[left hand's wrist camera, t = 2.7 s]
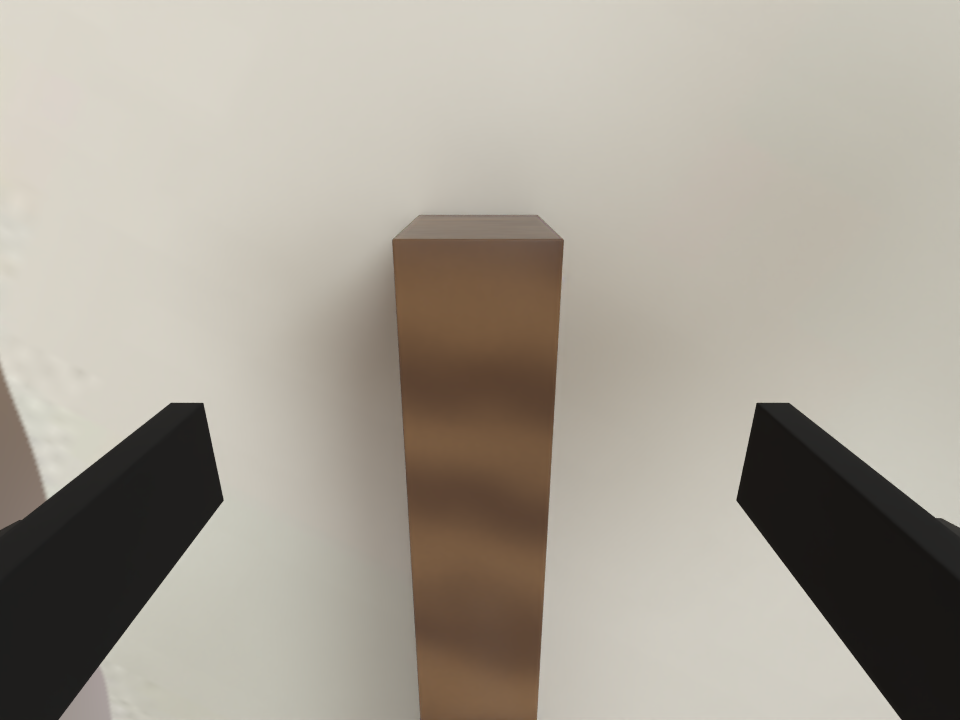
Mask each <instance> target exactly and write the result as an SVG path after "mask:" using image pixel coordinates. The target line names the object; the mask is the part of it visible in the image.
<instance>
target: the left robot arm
mask: <svg viewBox="0 0 960 720" xmlns="http://www.w3.org/2000/svg"><path fill="white" fill-rule="evenodd" d="M223 501H224V500H223V495H222V490H221V485H220V481H219V476H218V471H217V466H216V461H215V457H214V452H213V447H212V442H211V438H210V433H209V428H208V423H207V418H206V414H205V409H204V404H203V403H170V404H169V405H168V406H166V407H165V408H164V409H163V410H161V411H160V412H159V413H158V414H156V415H155V416H154V417H152V418H151V419H150V420H149V421H147V422H146V423H145V424H144V425H142V426H141V427H140V428H138V429H137V430H136V431H135V432H133V433H132V434H131V435H130V436H128V437H127V438H126V439H124V440H123V441H122V442H121V443H119V444H118V445H117V446H116V447H114V448H113V449H112V450H110V451H109V452H108V453H107V454H105V455H104V456H103V457H102V458H100V459H99V460H98V461H96V462H95V463H94V464H93V465H91V466H90V467H89V468H88V469H86V470H85V471H84V472H82V473H81V474H80V475H79V476H77V477H76V478H75V479H74V480H72V481H71V482H70V483H68V484H67V485H66V486H65V487H63V488H62V489H61V490H60V491H58V492H57V493H56V494H54V495H53V496H52V497H51V498H49V499H48V500H47V501H46V502H44V503H43V504H42V505H41V506H39V507H38V508H37V509H35V510H34V511H33V512H32V513H30V514H29V515H28V516H27V517H25V518H24V519H23V520H19V521H17V522H15V523H13V524H11V525H9V526H7V527H5V528H4V529H2V530H0V720H59V718H60V717H61V716H62V714H63V713H64V712H65V710H66V709H67V708H68V706H69V705H70V704H71V702H72V701H73V700H74V698H75V697H76V696H77V694H78V693H79V692H80V690H81V689H82V688H83V686H84V685H85V684H86V682H87V681H88V680H89V678H90V677H91V676H92V674H93V673H94V672H95V670H96V669H97V668H98V666H99V665H100V664H101V663H102V661H103V660H104V659H105V657H106V656H107V655H108V653H109V652H110V651H111V649H112V648H113V647H114V645H115V644H116V643H117V641H118V640H119V639H120V637H121V636H122V635H123V633H124V632H125V631H126V629H127V628H128V627H129V625H130V624H131V623H132V621H133V620H134V619H135V617H136V616H137V615H138V613H139V612H140V611H141V609H142V608H143V607H144V605H145V604H146V603H147V601H148V600H149V599H150V597H151V596H152V595H153V593H154V592H155V591H156V589H157V588H158V587H159V585H160V584H161V583H162V582H163V580H164V579H165V578H166V576H167V575H168V574H169V572H170V571H171V570H172V568H173V567H174V566H175V564H176V563H177V562H178V560H179V559H180V558H181V556H182V555H183V554H184V552H185V551H186V550H187V548H188V547H189V546H190V544H191V543H192V542H193V540H194V539H195V538H196V536H197V535H198V534H199V532H200V531H201V530H202V528H203V527H204V526H205V524H206V523H207V522H208V520H209V519H210V518H211V516H212V515H213V514H214V512H215V511H216V510H217V508H218V507H219V506H220V505H221V503H222V502H223ZM736 501H737V502H738V503H739V505H740V506H741V507H742V508H743V510H744V511H745V512H746V514H747V515H748V516H749V518H750V519H751V520H752V522H753V523H754V524H755V526H756V527H757V528H758V530H759V531H760V532H761V534H762V535H763V536H764V538H765V539H766V540H767V542H768V543H769V544H770V546H771V547H772V548H773V550H774V551H775V552H776V554H777V555H778V556H779V558H780V559H781V560H782V562H783V563H784V564H785V566H786V567H787V568H788V570H789V571H790V572H791V574H792V575H793V576H794V578H795V579H796V580H797V582H798V583H799V584H800V586H801V587H802V588H803V589H804V591H805V592H806V593H807V595H808V596H809V597H810V599H811V600H812V601H813V603H814V604H815V605H816V607H817V608H818V609H819V611H820V612H821V613H822V615H823V616H824V617H825V619H826V620H827V621H828V623H829V624H830V625H831V627H832V628H833V629H834V631H835V632H836V633H837V635H838V636H839V637H840V639H841V640H842V641H843V643H844V644H845V645H846V647H847V648H848V649H849V651H850V652H851V653H852V655H853V656H854V657H855V659H856V660H857V661H858V663H859V664H860V665H861V666H862V668H863V669H864V670H865V672H866V673H867V674H868V676H869V677H870V678H871V680H872V681H873V682H874V684H875V685H876V686H877V688H878V689H879V690H880V692H881V693H882V694H883V696H884V697H885V698H886V700H887V701H888V702H889V704H890V705H891V706H892V708H893V709H894V710H895V712H896V713H897V714H898V716H899V717H900V718H901V720H960V528H959V527H957V526H955V525H953V524H951V523H949V522H948V521H946V520H944V519H942V518H935V517H933V516H932V515H931V514H930V513H928V512H927V511H926V510H925V509H923V508H922V507H921V506H920V505H918V504H917V503H916V502H914V501H913V500H912V499H911V498H909V497H908V496H907V495H906V494H904V493H903V492H902V491H900V490H899V489H898V488H897V487H895V486H894V485H893V484H892V483H890V482H889V481H888V480H886V479H885V478H884V477H883V476H881V475H880V474H879V473H878V472H876V471H875V470H874V469H872V468H871V467H870V466H869V465H867V464H866V463H865V462H864V461H862V460H861V459H860V458H858V457H857V456H856V455H855V454H853V453H852V452H851V451H850V450H848V449H847V448H846V447H844V446H843V445H842V444H841V443H839V442H838V441H837V440H836V439H834V438H833V437H832V436H830V435H829V434H828V433H827V432H825V431H824V430H823V429H822V428H820V427H819V426H818V425H816V424H815V423H814V422H813V421H811V420H810V419H809V418H808V417H806V416H805V415H804V414H802V413H801V412H800V411H799V410H797V409H796V408H795V407H794V406H792V405H791V404H790V403H757V404H756V409H755V414H754V418H753V423H752V428H751V433H750V437H749V442H748V447H747V452H746V457H745V461H744V466H743V471H742V476H741V481H740V485H739V490H738V495H737V500H736Z"/></svg>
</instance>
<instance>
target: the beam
mask: <svg viewBox="0 0 960 720" xmlns="http://www.w3.org/2000/svg"><path fill="white" fill-rule="evenodd" d="M392 244H393V261H394V278H395V295H396V312H397V329H398V346H399V363H400V380H401V397H402V414H403V431H404V448H405V465H406V482H407V499H408V516H409V533H410V550H411V567H412V584H413V601H414V618H415V634H416V651H417V668H418V685H419V702H420V719H421V720H537V707H538V689H539V671H540V654H541V636H542V618H543V600H544V582H545V565H546V547H547V529H548V511H549V494H550V476H551V458H552V440H553V422H554V405H555V387H556V369H557V351H558V334H559V316H560V298H561V280H562V262H563V245H564V240H563V239H562V238H561V237H560V236H559V235H558V234H557V233H556V232H555V231H554V230H553V229H552V228H551V227H550V226H549V225H548V224H547V223H545V222H544V221H543V220H542V219H541V218H540V217H539V216H538V215H419V216H418V217H417V218H416V219H415V220H414V221H412V222H411V223H410V224H409V225H408V226H407V227H406V228H405V229H404V230H403V231H401V232H400V233H399V234H398V235H397V236H396V237H395V238H394V239H393V240H392Z"/></svg>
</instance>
